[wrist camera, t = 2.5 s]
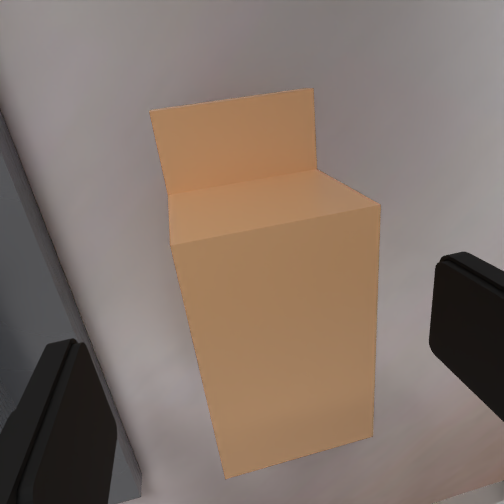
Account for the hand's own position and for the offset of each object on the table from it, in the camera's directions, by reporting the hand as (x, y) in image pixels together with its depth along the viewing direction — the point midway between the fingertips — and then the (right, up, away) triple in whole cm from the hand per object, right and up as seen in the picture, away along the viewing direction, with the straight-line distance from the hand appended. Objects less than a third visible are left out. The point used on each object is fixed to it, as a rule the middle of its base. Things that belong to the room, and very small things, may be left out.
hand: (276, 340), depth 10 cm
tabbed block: (-1, +2, +4) cm, 5 cm away
